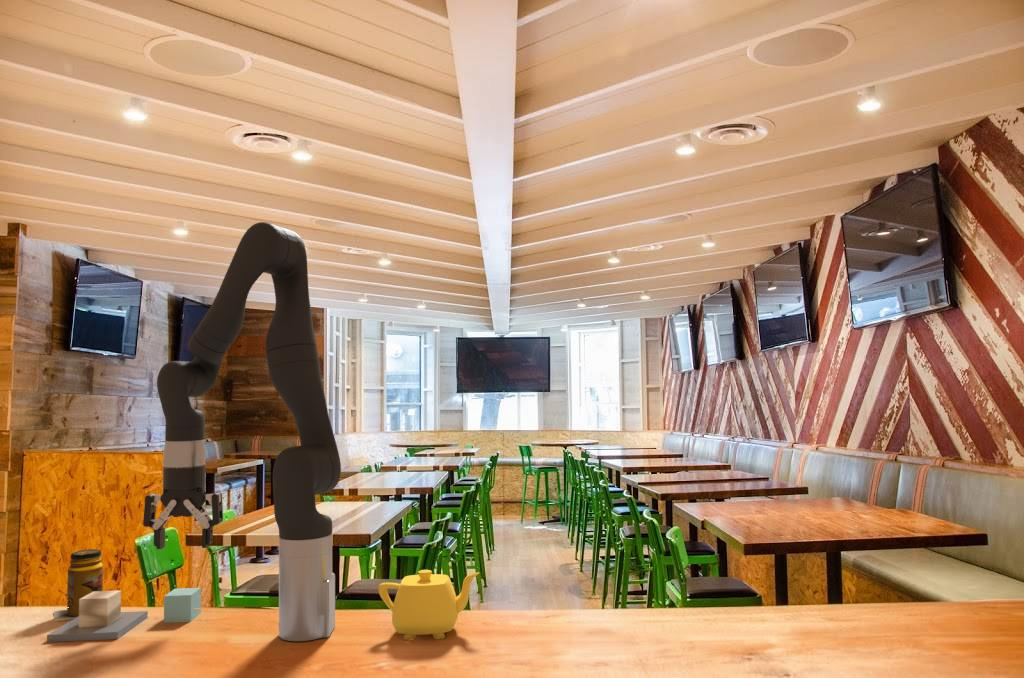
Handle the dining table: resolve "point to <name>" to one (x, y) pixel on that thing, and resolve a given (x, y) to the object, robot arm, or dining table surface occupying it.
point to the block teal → (182, 605)
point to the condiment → (81, 580)
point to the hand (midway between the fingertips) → (183, 547)
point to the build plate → (97, 629)
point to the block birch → (99, 608)
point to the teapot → (425, 604)
